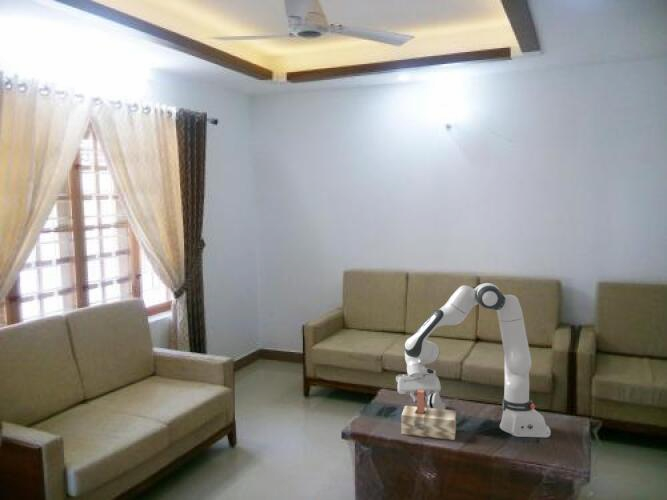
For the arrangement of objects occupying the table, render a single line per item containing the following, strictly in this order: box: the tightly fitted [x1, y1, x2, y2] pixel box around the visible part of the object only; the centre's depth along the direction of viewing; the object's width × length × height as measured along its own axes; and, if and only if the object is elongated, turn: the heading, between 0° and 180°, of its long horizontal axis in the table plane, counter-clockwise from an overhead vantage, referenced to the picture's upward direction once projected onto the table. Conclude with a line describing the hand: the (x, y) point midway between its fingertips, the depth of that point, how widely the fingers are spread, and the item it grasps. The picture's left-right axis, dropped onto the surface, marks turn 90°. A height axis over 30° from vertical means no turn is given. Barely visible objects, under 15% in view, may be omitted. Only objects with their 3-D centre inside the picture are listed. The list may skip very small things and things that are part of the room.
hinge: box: [426, 392, 446, 410], centre depth 284 cm, size 17×5×10 cm, turn 161°
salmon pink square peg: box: [416, 390, 426, 414], centre depth 260 cm, size 3×3×14 cm
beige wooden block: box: [400, 405, 457, 441], centre depth 259 cm, size 24×12×9 cm, turn 75°
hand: (421, 401), depth 259 cm, fingers closed on salmon pink square peg, 4 cm apart
